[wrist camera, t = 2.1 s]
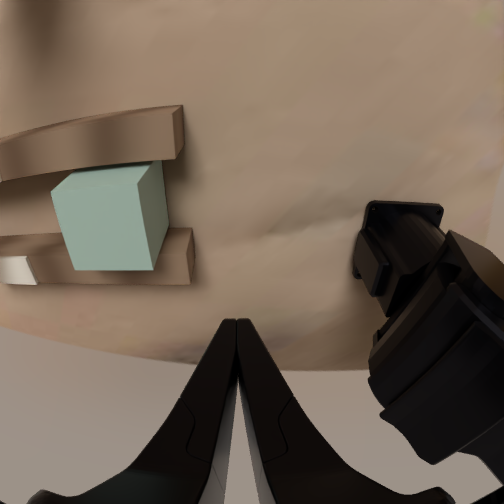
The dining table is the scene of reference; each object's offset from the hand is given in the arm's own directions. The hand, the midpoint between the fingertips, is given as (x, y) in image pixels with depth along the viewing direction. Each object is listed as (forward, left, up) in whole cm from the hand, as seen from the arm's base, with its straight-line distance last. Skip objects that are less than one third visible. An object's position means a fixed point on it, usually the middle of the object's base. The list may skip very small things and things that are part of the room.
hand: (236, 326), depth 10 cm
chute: (+13, 0, -11) cm, 17 cm away
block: (+7, 0, -11) cm, 13 cm away
